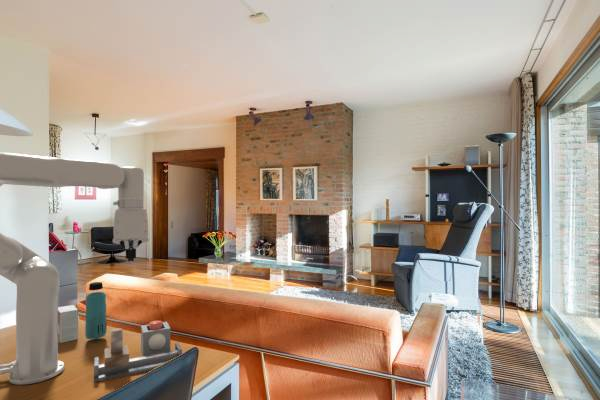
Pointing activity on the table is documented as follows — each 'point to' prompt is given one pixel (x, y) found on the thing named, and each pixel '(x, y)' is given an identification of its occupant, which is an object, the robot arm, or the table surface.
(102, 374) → the rail track
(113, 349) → the carriage
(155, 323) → the gauge button
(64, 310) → the small box
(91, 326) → the beverage bottle
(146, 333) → the gauge cabinet
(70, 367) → the table surface
